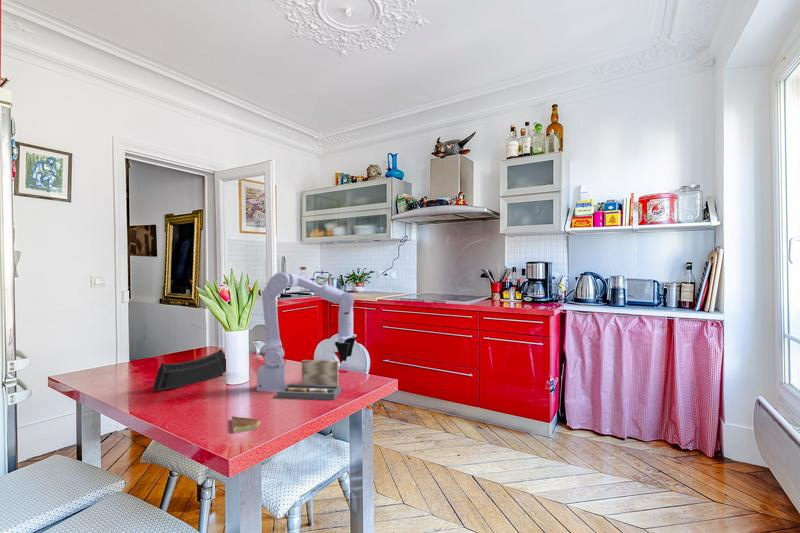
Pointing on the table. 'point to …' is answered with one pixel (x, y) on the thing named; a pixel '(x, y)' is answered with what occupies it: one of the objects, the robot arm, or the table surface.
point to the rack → (330, 395)
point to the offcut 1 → (297, 389)
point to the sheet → (320, 372)
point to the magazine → (190, 371)
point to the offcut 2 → (318, 390)
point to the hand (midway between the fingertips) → (345, 358)
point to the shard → (244, 424)
